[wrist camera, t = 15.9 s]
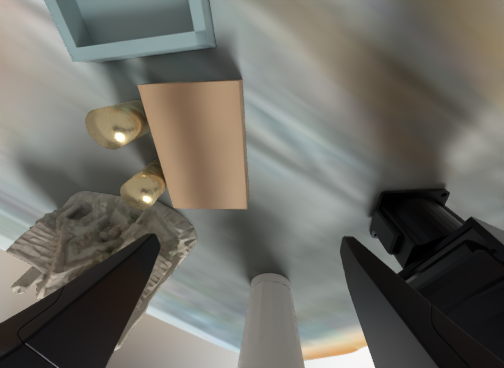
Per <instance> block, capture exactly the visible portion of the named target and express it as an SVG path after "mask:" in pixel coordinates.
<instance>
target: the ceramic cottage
mask: <svg viewBox="0 0 504 368" xmlns="http://www.w3.org/2000/svg"><path fill="white" fill-rule="evenodd" d="M146 233H155V234H156V235H157V238H158V240H159V242H160V245H161V248H160V252H159V254H158V257H157V260H156V262H155V265H154V267H153V270H152V273H151V275H150V278H149V280H148V282H147V284H146V286H145V288H144V290H143V292H142V294H141V297H140V299H139V301H138V303H137V305H136V307H135V309H134V311H133V313H132V315H131V317H130V319H129V321H128V323H127V325H126V327H125V329H124V331H123V333H122V335H121V337H120V339H119V341H118V343H117V345H116V347H115V350H117V349H118V348H120V347H121V346H122V344H123V343H124V341H125V340H126V338H127V337H128V335H129V334H130V332H131V331H132V329H133V328H134V326H135V325H136V324H137V323H138V321H139V320H140V319H141V318H142V317H143V316H144V314H145V312H146V310H147V307H148V305H149V303H150V301H151V300H152V298H153V297H154V295H155V294H156V292H157V291H158V289H159V288H160V286H161V285H162V284H163V283H164V282H165V281H166V280H167V279H168V278H169V277H170V276H171V275H172V273H173V271H174V270H175V268H178V265H179V264H180V263H181V262H182V261H183V259H184V258H185V257H187V256H188V255H189V253H190V252H191V250H192V249H193V247H194V246H195V244H196V241H197V235H196V231H195V229H194V227H193V225H192V224H191V223H190V222H189V221H188V220H187V219H186V218H185V217H184V216H182V215H181V214H179V213H178V212H176V211H175V210H173V209H172V208H168V206H165V205H164V204H162V203H160V202H158V201H155V202H154V204H153V205H152V206H151V207H150V208H148V209H144V210H141V209H136V208H133V207H131V206H130V205H128V204H127V203H126V202H125V201H124V200H123V198H122V197H121V196H117V195H116V196H115V195H111V194H105V193H98V192H92V191H80V192H77V193H75V194H74V195H72V196H71V197H70V198H69V199H68V201H67V202H66V203H65V204H64V206H63V207H62V208H59V209H57V210H54V211H53V212H52V213H47V214H45V216H44V217H43V218H41V219H39V220H37V221H36V225H34V226H32V227H30V230H28V231H27V232H25V233H24V234H23V235H22V236H21V237H19V238H18V239H17V240H16V241H15V242H14V243H13V244H12V245H11V246H10V247H9V248H8V249H7V250H6V252H7V253H9V254H11V255H13V256H15V257H17V258H19V259H21V260H23V261H25V262H27V263H28V264H30V265H32V266H33V267H31V268H30V269H29V270H28V271H27V272H26V273H25V274H24V275H23V276H22V277H21V278H20V279H18V280H17V282H15V283H14V284H13V285H12V287H11V289H12V291H13V292H15V293H17V294H22V293H25V292H26V291H27V290H28V289H29V288H30V287H31V286H32V285H34V284H36V283H37V284H36V285H37V288H36V290H37V294H36V299H37V298H43V297H44V298H45V297H46V296H48V295H49V294H51V293H53V292H54V291H56V290H57V289H59V288H61V287H62V286H64V285H66V284H67V283H69V282H70V281H72V280H73V279H75V278H76V277H78V276H80V275H81V274H83V273H84V272H86V271H88V270H89V269H91V268H92V267H94V266H95V265H97V264H99V263H100V262H102V261H103V260H105V259H107V258H108V257H110V256H111V255H113V254H114V253H116V252H118V251H119V250H121V249H122V248H124V247H126V246H127V245H129V244H130V243H132V242H133V241H135V240H137V239H138V238H140V237H141V236H143V235H145V234H146Z"/></svg>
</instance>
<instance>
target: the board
mask: <svg viewBox="0 0 504 368" xmlns="http://www.w3.org/2000/svg"><path fill="white" fill-rule="evenodd" d="M137 86H138V89H139V92H140V96H141V99H142V103H143V106H144V109H145V113H146V116H147V119H148V123H149V126H150V130H151V133H152V136H153V140H154V143H155V147H156V150H157V153H158V157H159V160H160V163H161V167H162V170H163V174H164V177H165V180H166V184H167V187H168V191H169V194H170V197H171V201H172V204H173V207H174V208H196V209H247V206H248V200H249V185H248V167H247V149H246V132H245V114H244V96H243V79H235V80H211V81H187V82H163V83H149V84H141V85H137Z"/></svg>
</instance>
